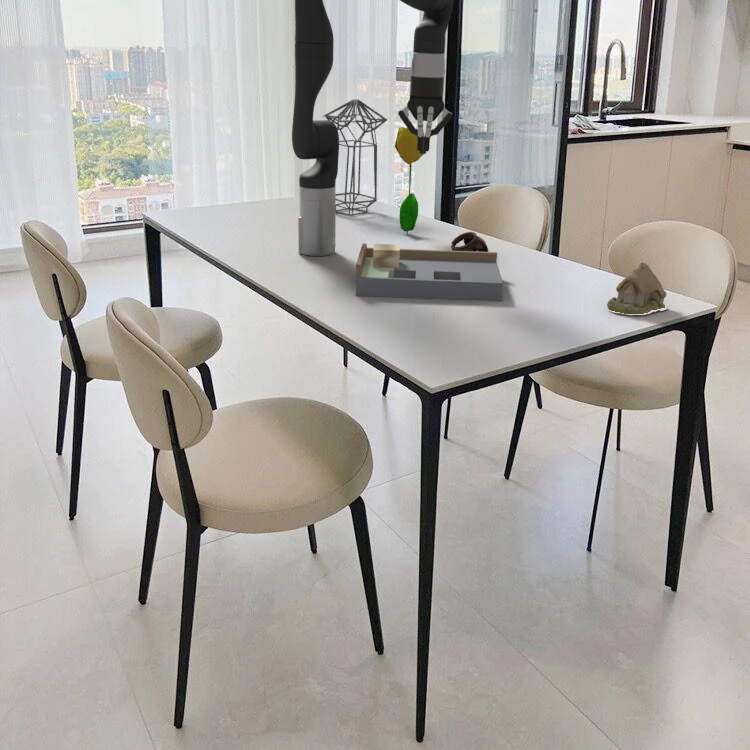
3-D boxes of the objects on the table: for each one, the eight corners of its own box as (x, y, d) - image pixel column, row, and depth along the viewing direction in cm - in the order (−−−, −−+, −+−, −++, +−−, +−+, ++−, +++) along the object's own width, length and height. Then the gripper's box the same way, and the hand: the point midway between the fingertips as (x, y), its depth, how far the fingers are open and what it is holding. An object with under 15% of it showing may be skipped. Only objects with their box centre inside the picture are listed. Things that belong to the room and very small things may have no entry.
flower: (416, 238, 239) (420, 128, 228) (389, 235, 241) (392, 127, 230) (425, 232, 247) (429, 126, 235) (399, 229, 249) (402, 124, 238)
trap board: (355, 295, 185) (355, 264, 183) (362, 271, 204) (362, 243, 201) (501, 300, 184) (504, 269, 181) (494, 276, 202) (497, 248, 200)
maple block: (372, 267, 192) (373, 249, 191) (373, 260, 198) (373, 243, 197) (399, 267, 192) (399, 250, 191) (398, 261, 198) (399, 244, 196)
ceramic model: (625, 296, 189) (631, 253, 186) (674, 307, 183) (681, 262, 179) (597, 310, 179) (603, 264, 176) (647, 322, 173) (654, 274, 169)
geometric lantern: (354, 206, 282) (358, 96, 269) (385, 215, 271) (391, 101, 258) (317, 210, 272) (319, 97, 259) (347, 220, 262) (352, 102, 248)
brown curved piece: (494, 267, 213) (481, 240, 209) (459, 280, 216) (446, 255, 211) (490, 244, 223) (478, 218, 218) (457, 258, 225) (444, 233, 221)
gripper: (397, 74, 186) (393, 154, 193) (457, 77, 186) (451, 157, 192) (398, 72, 193) (395, 149, 200) (456, 74, 193) (451, 152, 199)
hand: (423, 153), depth 196 cm, fingers closed
